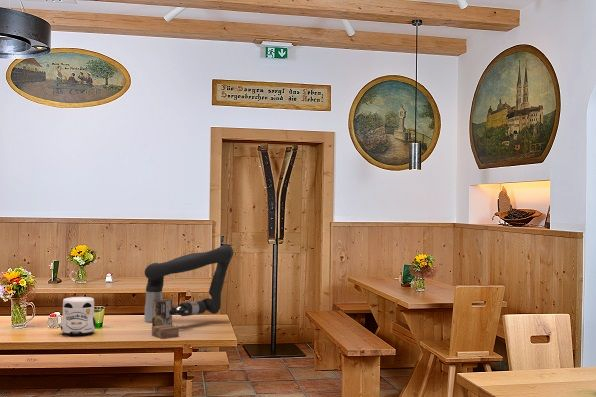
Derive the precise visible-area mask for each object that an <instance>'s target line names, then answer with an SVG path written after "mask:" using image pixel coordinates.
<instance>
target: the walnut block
mask: <svg viewBox="0 0 596 397" xmlns="http://www.w3.org/2000/svg"><path fill="white" fill-rule="evenodd" d="M179 331H180V327H179V326H175V325H173V324H172V325H161V326H151V336H152V337H155V338H157V339H160V340H164V339H171V338H172V337H173V338H179V335H180V334H179Z"/></svg>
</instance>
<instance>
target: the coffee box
mask: <svg viewBox="0 0 596 397" xmlns="http://www.w3.org/2000/svg"><path fill="white" fill-rule="evenodd" d="M172 306H173V299H163V298H162V299H157V300H154V301H152V322H151V325H152V326H161V325H172V326H173V315H170V314H169V311H171V310H172ZM152 326H151V327H152Z"/></svg>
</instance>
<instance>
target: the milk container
mask: <svg viewBox="0 0 596 397" xmlns="http://www.w3.org/2000/svg"><path fill="white" fill-rule="evenodd" d="M96 322H97V321H96V318H95V298H93V297H88V296H73V297H71V296H70V297H66V298H63V300H62V317H61V321H60V330H61V332H62V333H63V334H65V335H69V336H83V335H89V334H91V333H93V332H95V329H96V325H97V324H96Z"/></svg>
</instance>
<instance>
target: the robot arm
mask: <svg viewBox="0 0 596 397" xmlns="http://www.w3.org/2000/svg"><path fill="white" fill-rule="evenodd" d="M233 256H234V249H233V246H231V245H229V244H222V245H221V246H219V247H217V248H214V249H211V250H208V251H204V252H192V253H189V254H184V255H181V256H179V257H176V258H173V259H171V260H168V261H165V262H153V263H150V264H148V265H147V266H146V267H145V269H144V276H145V278H147V284H146V286H145V304H144V321H145V322H146V323H152V301H154V300H157V299H163V287H164V283H165V282H164V281H165V277H166V276H168V275H173V274H179V273H180V274H181V273H187V272H190V271H194V270H197V269H200V268H203V267H205V266H209V265H214V264H216V268H215V270H214V274H213V276H212V277H211V278H212V279H211V281H210V282H211V283H210V286H209V289H208V294H209V296H210V297H211V298H204V299H201V300H199V301H197V300H196V301H189V302H188V301H187V302H186V301H185V302H181V303H179V305H175V306H174V305H172V310H171V311H169V314H170V315H172V316H173V315H174V316H175V315H177V316H178V315H179V316H181V317H189V316H195V315H201V314H204V313H205V312H206V311H207V312H208V313H210V314H212V315H213V314H215V315H216V314H218V313H219V312H220V309H221V306H222V292H223V287H224V283H225V278H226V275H227V271H228V267H229V265H230V263H231V260H232V258H233Z"/></svg>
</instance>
